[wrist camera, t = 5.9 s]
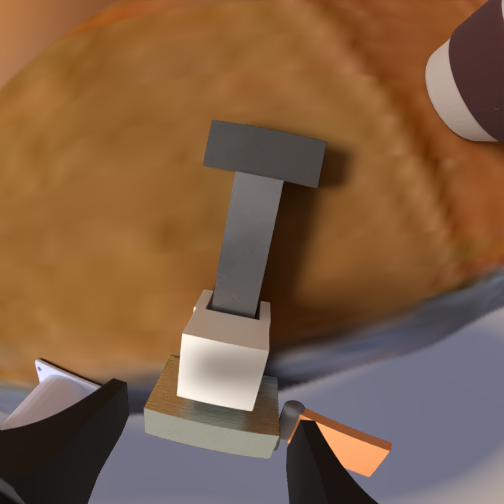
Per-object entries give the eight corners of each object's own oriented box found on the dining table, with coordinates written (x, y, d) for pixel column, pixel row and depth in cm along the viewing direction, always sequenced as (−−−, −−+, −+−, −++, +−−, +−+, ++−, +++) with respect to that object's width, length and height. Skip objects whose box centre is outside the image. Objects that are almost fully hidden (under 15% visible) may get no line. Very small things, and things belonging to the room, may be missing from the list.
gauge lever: (373, 467, 15) (368, 480, 14) (279, 426, 19) (269, 436, 18) (393, 440, 14) (389, 454, 13) (290, 397, 18) (280, 408, 17)
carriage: (257, 354, 20) (253, 411, 14) (196, 342, 20) (175, 395, 14) (270, 302, 19) (271, 351, 13) (203, 289, 19) (180, 332, 13)
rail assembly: (272, 401, 21) (272, 459, 15) (168, 380, 21) (144, 433, 15) (337, 151, 17) (370, 140, 11) (203, 125, 17) (174, 101, 11)
